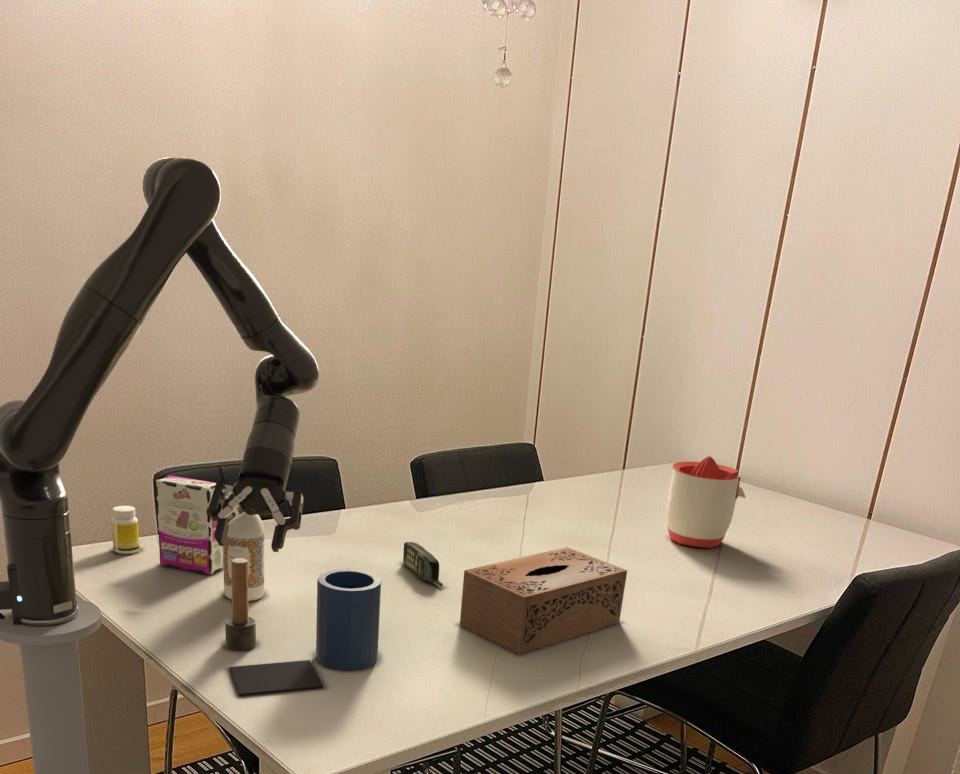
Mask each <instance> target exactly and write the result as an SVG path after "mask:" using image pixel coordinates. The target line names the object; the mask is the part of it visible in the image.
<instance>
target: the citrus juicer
mask: <svg viewBox="0 0 960 774" xmlns="http://www.w3.org/2000/svg"><path fill="white" fill-rule="evenodd" d="M740 483H741V476H739V470H737V469H735V468H732V467H729V466H726V465H722V464H719V463H718V464H717V462H716V461H715V459H714V458H713V457H712V456H706V457H705V458H703V459H702V460H701V461H677V462H675V463H673V464H672V474H671V480H670V486H669V492H668V497H667V498H668V499H667V506H666V522H667V523H666V524H667V532H668V534H669V538H670V539H671V540H672V541H674V542H676V544H678V545H686V546H690V547H695V548H696V547H697V548H706V549H713V548H714V547H717V546H719V545H720V544H721V542H723V540H724V538H725V536H726V534H727V531H728V530H729V528H730V525H731V523H732V520H733V516H734V512H735V508H736V502H737V499H738V498H742V499H746V498H747V497H746V494H745V492H744V489H743V488H742V487H741V486H740Z"/></svg>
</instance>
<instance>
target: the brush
mask: <svg viewBox="0 0 960 774" xmlns="http://www.w3.org/2000/svg"><path fill="white" fill-rule="evenodd" d="M231 563H232V599H231V607H232V608H231V609H232V610H231V611H232V615H231V617H228V618H227V619H225V621H224V623H225V624H224V625H225V627H224V629H225V631H224V632H225V646H226V647H227V648H228V649H230V650H233V651H238V652H239V651H240V652H241V651H242V652H243V651H249V650H252V649H254V648H255V647H256V644H257V625H256V624H257V621H256V619H255V618H254V617H251V616H249V601H248V560H247V559H244V558H235V559H232V561H231Z"/></svg>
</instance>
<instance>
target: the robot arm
mask: <svg viewBox="0 0 960 774" xmlns="http://www.w3.org/2000/svg"><path fill="white" fill-rule="evenodd" d="M142 193H143V197H144V200H145V202H146V204H147V208H146V210H145V212H144V213H143V215H142V217H141V219H140V221H139V223H138V224H137V225H136V227H135V229H134V230H133V231H132V233H131V234H130V235H129V236H128V237H127V239H125V241H124V242H122V243H121V244H120V245H119V246H118V247H117V248H116V249H115V250H113V252H112V253H111V254H109V255H108V256H107V257H106V258H105V259H104V260H103V261H102V262H101V263H100V264H99V265H98V266H97V267H96V268H95V269H94V271H92V273H91V274H90V275H89V276H88V278H87V279H86V281H84V283H83V285H82V287H81V288H80V290H79V291H78V293H77V294H76V296H75V297H74V299H73V301H72V303H71V304H70V306H69V307H68V309H67V311H66V313H65V315H64V317H63V319H62V322H61V325H60V327H59V330H58V333H57V337H56V340H55V343H54V347H53V350H52V354H51V357H50V360H49V363H48V365H47V367H46V370H45V371H44V374H43V376H42V377H41V379H40V381H39V382H38V383H37V385H36V386H35V387H34V389H33V390H32V391H31V393H30V395H29V396H28V397H27V398H26V400H24V399H15V400H11V401H8V402H5V403H4V404H2V405H0V508H1V509H0V510H1V516H2V525H3V533H4V534H3V535H4V543H5V551H6V560H7V563H6V564H7V565H6V571H7V573H6V574H7V581H0V610H7V609H12V616H13V624H14V625H26V626H33V627H48V626H56V625H61V624H64V623H67V622H70V621H72V620H74V619H75V618H76V617H77V616H78V606H77V600H76V599H77V591H76V589H77V588H76V579H75V569H74V567H75V566H74V555H73V547H72V534H71V522H70V511H69V499H68V494H67V491H66V489H65V485H64V483H63V479H62V476H61V470H60V469H61V468H60V462H62V460H63V459H64V457H65V455H67V453H68V450H69V448H70V446H71V445H72V442H73V440H74V438H75V436H76V433H77V432H78V429H79V427H80V425H81V423H82V421H83V419H84V416H85V415H86V414H87V411H88V409H89V407H90V405H91V403H92V402H93V400H94V398H95V397H96V395H97V394H98V392H99V391H100V390H101V388H102V387H103V385H104V384H105V382H106V381H107V379H108V378H109V376H110V375H111V373H112V372H113V370H114V369H115V367H116V365H117V364H118V362H119V361H120V359H121V358H122V356H123V354H124V353H125V352H126V350H127V349H128V347H129V346H130V344H131V343H132V341H133V340H134V339H135V337H136V335H137V333H138V332H139V330H140V329H141V327H142V325H143V324H144V323H145V320H146V318H147V316H148V315H149V314H150V311H151V309H152V308H153V306H154V305H155V303H156V302H157V301H158V299H159V296H160V295H161V294H162V292H163V290H164V288H165V287H166V285H167V283H168V281H169V279H170V278H171V276H172V274H173V272H174V271H175V269H176V268H177V266H178V264H179V263H180V262H181V260H182V259H183V258H184V256H185V255H187V256H188V257H189V259H191V262H192V263H193V264H194V265H195V267H196V269H197V270H198V271H199V273H200V274H201V276H202V278H203V280H205V282H206V284H207V285H208V286H209V288H210V289H211V291H212V293H213V294H214V297H215V298H216V299H217V301H218V302H219V304H220V305H221V307H222V309H223V310H224V312H225V314H226V316H227V317H228V319H229V320H230V321H229V322H230V323H231V324H232V326H233V327H234V330H235V331H236V332H237V334H238V336H239V337H240V339H241V340H242V343H244V345H245V346H246V347H247V349H249V350H251V351H254V352H266V353H269V354H271V355H266V356H265V357H263V358H262V359H260V361H259V362H258V364H257V366H256V368H255V371H254V385H255V386H254V387H255V402H256V410H255V415H254V418H253V423H252V427H251V430H250V433H249V435H248V437H247V441H246V445H245V447H244V448H245V449H244V453H243V457H242V461H241V465H240V470H239V472H238V473H239V474H238V479H237V482H236V483H234V485H230V484H225V483H224V482H223V481H222V480H218V481H217V482H215V483H216V486H215V489H214V492H213V495H212V498H211V501H210V504H209V507H208V513H209V515H210V517H211V519H212V520H213V521H218V522H217V526H216V530H215V534H214V536H215V539H216V541H217V542H218V544H219V546H225V543H226V538H227V534H228V530H229V525H228V524H230V523H231V522H232V521H233V520H234V519H236V518H239V517H241V516H242V515H243V514H244V513H247V515H256V514H257V515H259V517H267V516H269V515H271V516H272V518H273V520H274V522H275V523H276V525H275V527H274V531H273V535H272V540H271V545H270V546H271V547H270V548H271V550H272V552H274V553H279V551H280V550H282V549H283V548H284V545H285V540H286V536H287V532H288V531H289V530H296V531H297V530H299V529H300V528H301V524H302V516H303V510H304V509H303V508H304V503H305V502H304V501H305V499H304V496H303V493H302V490H301V489H300V488H296V489H294V490H293V491H286V489H287V484H288V479H289V475H290V471H291V466H292V463H293V460H294V452H295V441H296V435H297V431H298V427H299V422H300V414H301V413H300V409H299V406H298V405H297V403H295V401H293V400H292V399H290V398H288V397H290V396H295V395H299V394H303V393H307V392H310V391H312V390H314V389H315V388H316V386H318V383H319V380H320V369H319V366H318V363H317V361H316V358H315V356H314V355H313V353H312V352H311V351H310V350H309V348H308V347H307V346H306V345H305V344H304V343H303V342H302V341H301V340H300V339H299V338H298V336H296V335H295V334H294V333H293V332H292V331H291V330H290V328H289V327H287V326H286V325H285V324H284V323H283V321H282V320H281V318H280V317H279V315H278V313H277V311H276V309H275V307H274V306H273V304H272V302H271V300H270V298H269V297H268V295H267V294H266V292H265V291H264V289H263V287H262V286H261V284H260V282H258V280H257V279H256V278H255V276H254V275H253V274H252V273H251V271H250V270H249V269H248V267H246V265H245V264H244V263H243V262H242V261H241V259H240V258H239V257H238V256H237V254H236V253H235V252H234V251H233V250H232V248H231V247H230V246H229V244H228V243H227V241H226V239H225V238H224V237H223V235H222V233H221V232H220V230H219V228H218V227H217V225H216V223H215V220H214V218H215V217H216V215H217V213H218V211H219V208H220V204H221V198H222V197H221V195H222V191H221V185H220V181H219V179H218V176H217V175H216V173H215V171H214V170H213V169H212V168H211V167H210V166H209V165H208V164H207V163H205V162H203V161H201V160H198V159H194V158H191V157H162V158H159V159H156V160H155V161H153V162H152V163H151V164H150V165H148V167H147V168H146V170H145V172H144V174H143V177H142ZM231 495H235V498H234V497H233V498H232V499H231V500H230V501H229V502H228V503H227V506H225V507H224V503H225V501H226V500H228V499H229V498H230V496H231ZM286 501H288V503H289V505H290V506H291V508H290V515H289V517H288V518H285V517H284V515H283V513H282V512H281V510H280V507H281V506H282V505H283V504H284V503H285V502H286ZM239 505H240V506H239ZM238 506H239V507H238ZM222 507H223V510H222ZM237 507H238V508H237ZM221 510H222V511H221ZM4 618H5V616H4V615H3V614H2V613H0V619H1V620H3V619H4Z"/></svg>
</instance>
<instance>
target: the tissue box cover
mask: <svg viewBox="0 0 960 774" xmlns="http://www.w3.org/2000/svg"><path fill="white" fill-rule="evenodd" d="M627 575H628V569H624V568H622V567H619V566H616V565H614V564H611V563H609V562H607V561H604V560H601V559H599V558H597V557H593V556H591V555H588V554H586V553H583V552H580V551H578V550H576V549H573V548H570V547H562V548H558V549H553V550H548V551H544V552H540V553H535V554H530V555H527V556H522V557H518V558H513V559H509V560H505V561H500V562H496V563H490V564H487V565H482V566H478V567H474V568H469V569H465V570H464V571H463V581H462V593H461V604H460V605H461V606H460V617H459V626H461V627H463V628H465V629H467V630H469V631H471V632H473V633H475V634H477V635H478V636H480V637H482V638H485V639H486V640H489V641H490V642H493V643H495V644H497V645H498V646H501V647H503V648H505V649H507V650H509V651H511V652H512V653H514V654H517V655H522V654H525V653H528V652H532V651H535V650H537V649H540V648H544V647H547V646H550V645H554V644H557V643H560V642H563V641H566V640H570V639H572V638H575V637H578V636H579V637H580V636H582V635H585V634H588V633H592V632H594V631H597V630H598V631H599V630H601V629H605V628H608V627H610V626H613V625H616V624H619V623H620V621H621V614H622V608H623V602H624V594H625V589H626V588H625V587H626V583H627V582H626V581H627Z"/></svg>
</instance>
